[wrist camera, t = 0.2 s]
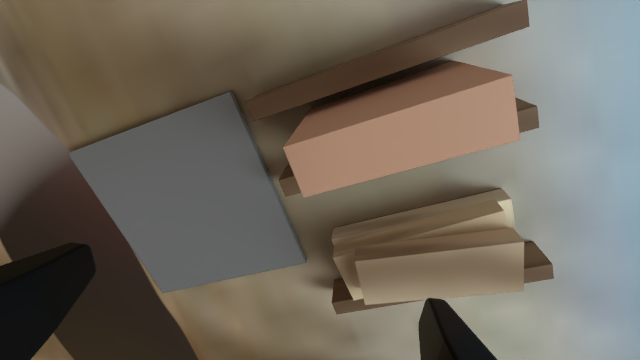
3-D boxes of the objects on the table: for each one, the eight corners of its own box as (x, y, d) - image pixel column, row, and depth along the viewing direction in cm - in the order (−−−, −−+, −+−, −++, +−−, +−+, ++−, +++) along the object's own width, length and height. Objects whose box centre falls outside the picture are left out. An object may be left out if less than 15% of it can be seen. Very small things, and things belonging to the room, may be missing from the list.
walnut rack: (534, 254, 23) (553, 278, 21) (338, 290, 27) (336, 314, 24) (504, 4, 17) (526, -1, 15) (257, 95, 21) (244, 102, 18)
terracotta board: (460, 101, 19) (520, 140, 12) (323, 143, 21) (303, 197, 14) (453, 60, 18) (512, 75, 11) (310, 108, 21) (282, 147, 13)
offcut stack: (510, 243, 23) (542, 288, 19) (350, 274, 26) (348, 319, 22) (501, 184, 21) (534, 220, 17) (331, 225, 24) (325, 263, 20)
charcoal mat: (306, 258, 26) (305, 262, 25) (165, 289, 29) (162, 293, 28) (232, 90, 21) (229, 91, 20) (73, 151, 24) (67, 153, 24)
